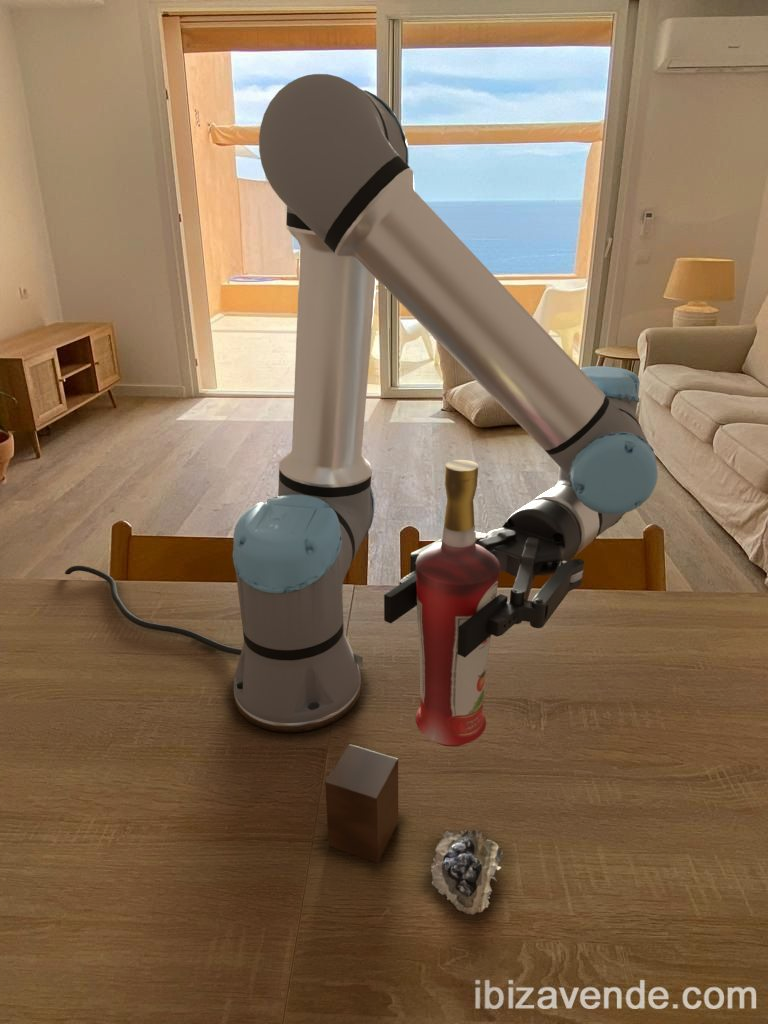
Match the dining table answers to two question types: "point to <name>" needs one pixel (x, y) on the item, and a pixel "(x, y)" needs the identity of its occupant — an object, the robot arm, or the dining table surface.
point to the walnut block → (362, 802)
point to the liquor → (453, 617)
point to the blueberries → (465, 869)
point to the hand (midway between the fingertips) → (423, 624)
